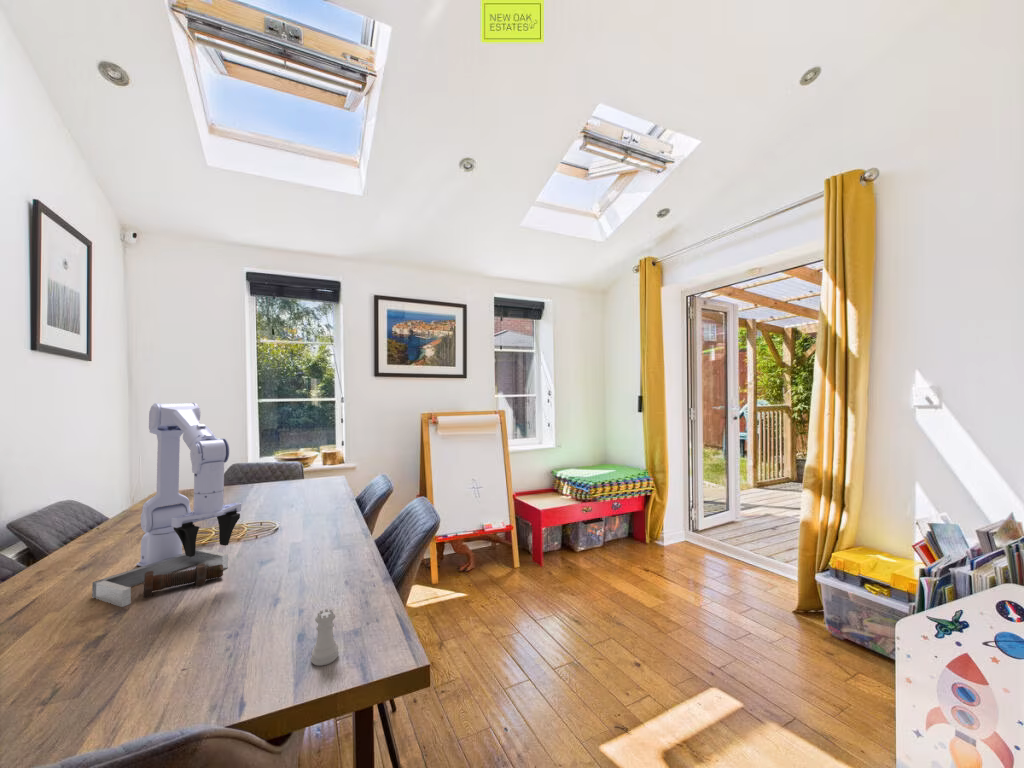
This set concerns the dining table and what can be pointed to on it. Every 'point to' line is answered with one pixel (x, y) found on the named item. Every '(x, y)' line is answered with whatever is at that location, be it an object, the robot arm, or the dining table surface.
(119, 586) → the keeper
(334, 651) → the rook chess piece
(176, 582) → the bolt
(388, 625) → the dining table surface
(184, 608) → the dining table surface
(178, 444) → the robot arm
